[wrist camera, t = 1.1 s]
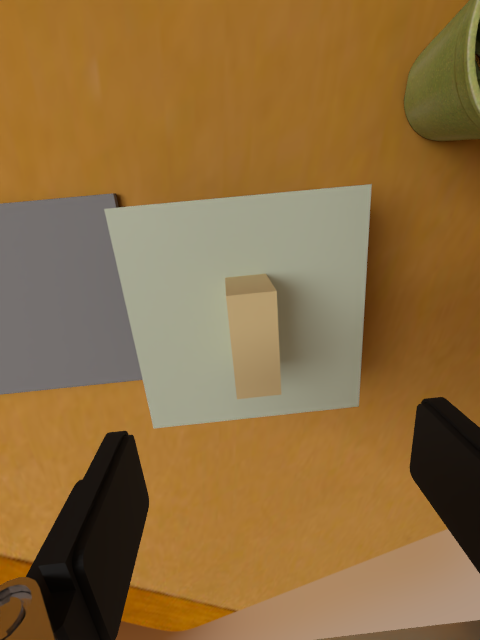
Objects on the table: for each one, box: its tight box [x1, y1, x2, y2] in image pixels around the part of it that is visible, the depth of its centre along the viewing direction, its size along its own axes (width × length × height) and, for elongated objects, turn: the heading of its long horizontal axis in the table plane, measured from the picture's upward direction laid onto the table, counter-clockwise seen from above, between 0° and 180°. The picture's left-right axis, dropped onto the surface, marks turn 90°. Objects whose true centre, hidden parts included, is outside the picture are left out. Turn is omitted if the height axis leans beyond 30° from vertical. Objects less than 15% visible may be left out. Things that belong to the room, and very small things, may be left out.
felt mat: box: [0, 194, 143, 394], centre depth 25 cm, size 15×15×1 cm
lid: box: [104, 184, 372, 428], centre depth 19 cm, size 15×15×5 cm
